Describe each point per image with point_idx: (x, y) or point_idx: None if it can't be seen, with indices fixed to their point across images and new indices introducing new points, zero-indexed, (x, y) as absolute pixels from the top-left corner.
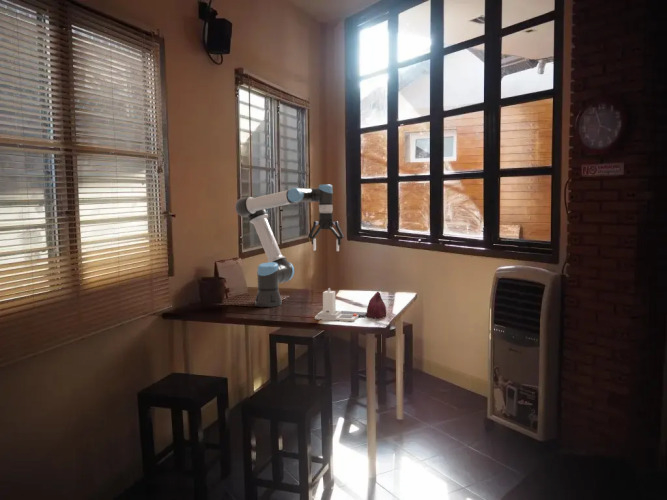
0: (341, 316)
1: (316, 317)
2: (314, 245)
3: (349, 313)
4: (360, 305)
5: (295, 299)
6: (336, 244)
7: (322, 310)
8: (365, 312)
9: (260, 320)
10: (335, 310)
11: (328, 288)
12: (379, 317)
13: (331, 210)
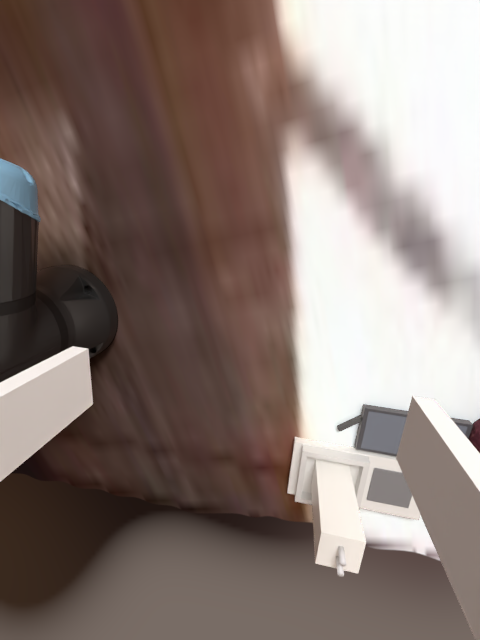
0: (374, 493)
1: (292, 492)
2: (41, 443)
3: (398, 445)
4: (434, 265)
5: (124, 196)
6: (441, 556)
7: (301, 459)
8: (462, 427)
9: (149, 501)
10: (351, 476)
11: (339, 573)
12: None
13: None
